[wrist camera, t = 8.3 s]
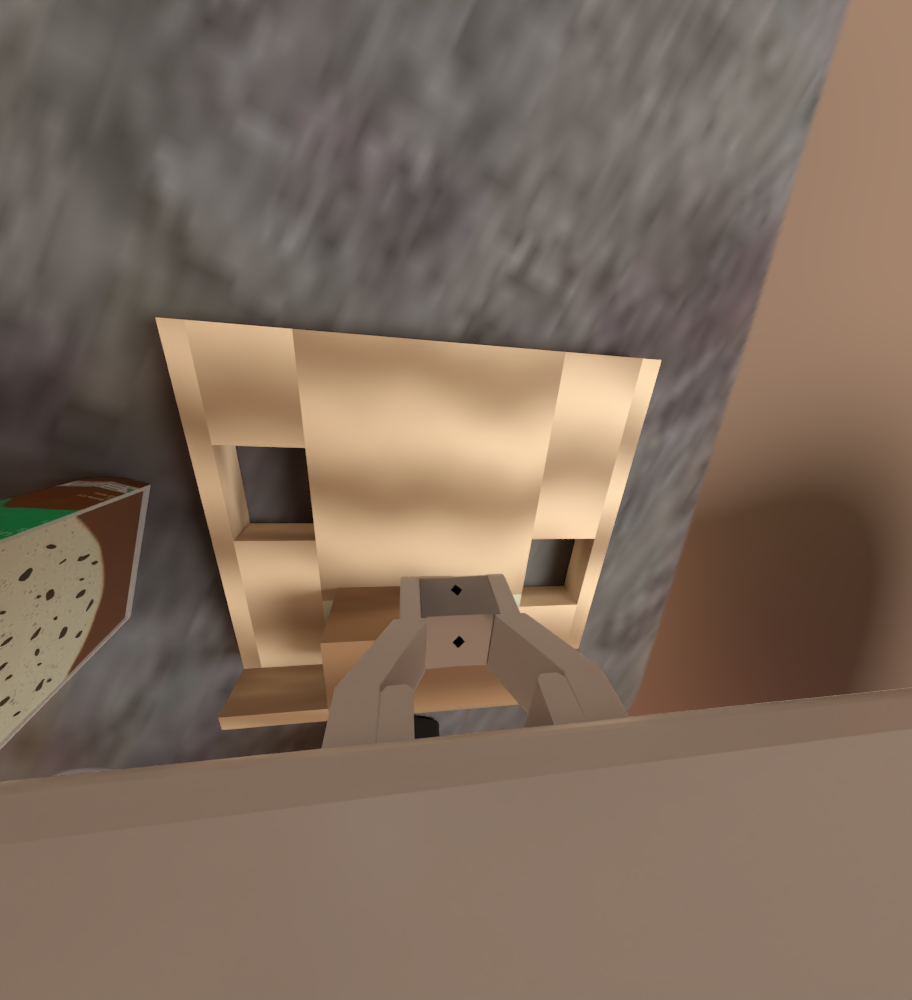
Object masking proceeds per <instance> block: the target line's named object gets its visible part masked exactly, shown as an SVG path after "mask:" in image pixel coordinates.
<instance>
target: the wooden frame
mask: <svg viewBox="0 0 912 1000" xmlns="http://www.w3.org/2000/svg"><path fill="white" fill-rule="evenodd" d="M155 319H156V323H157V327H158V331H159V335H160V338H161V342H162V346H163V350H164V354H165V358H166V362H167V366H168V370H169V374H170V378H171V382H172V386H173V390H174V394H175V398H176V402H177V406H178V410H179V414H180V418H181V422H182V425H183V429H184V433H185V437H186V441H187V445H188V449H189V453H190V457H191V461H192V465H193V469H194V473H195V477H196V481H197V485H198V489H199V493H200V497H201V501H202V505H203V508H204V512H205V516H206V520H207V524H208V528H209V532H210V536H211V540H212V544H213V548H214V552H215V556H216V560H217V564H218V568H219V572H220V576H221V580H222V584H223V588H224V591H225V595H226V599H227V603H228V607H229V611H230V615H231V619H232V623H233V627H234V631H235V635H236V639H237V643H238V647H239V651H240V655H241V659H242V663H243V667H244V670H243V672H242V674H241V676H240V678H239V679H238V681H237V683H236V685H235V687H234V689H233V691H232V693H231V695H230V697H229V698H228V700H227V702H226V704H225V706H224V708H223V710H222V712H221V714H220V715H219V717H218V719H219V722H220V725H221V728H222V730H228V729H239V728H251V727H263V726H274V725H286V724H297V723H309V722H321V721H328V716H329V712H328V704H327V696H326V687H325V679H324V671H323V662H322V654H321V646H320V642H321V639H322V636H323V633H324V629H325V626H326V623H327V620H328V616H329V613H330V610H331V607H332V604H333V600H334V597H335V594H336V591H337V588H347V587H385V586H400V580H401V577H410V576H418V577H419V576H470V575H486V574H503V575H504V576H505V578H506V580H507V583H508V585H509V588H510V590H511V592H512V595H513V597H514V599H515V602H516V604H517V606H518V609H519V611H520V613H526V614H527V615H529V616H530V617H532V618H533V619H534V620H536V621H537V622H538V623H540V624H541V625H543V626H544V627H545V628H547V629H548V630H549V631H551V632H552V633H553V634H555V635H556V636H558V637H559V638H560V639H562V640H563V641H564V642H566V643H567V644H569V645H570V646H571V647H573V648H574V649H575V650H577V651H578V652H580V651H579V649H578V648H579V644H580V641H581V637H582V634H583V630H584V627H585V624H586V620H587V617H588V613H589V610H590V606H591V603H592V599H593V596H594V592H595V589H596V585H597V582H598V578H599V575H600V572H601V568H602V565H603V561H604V558H605V554H606V551H607V547H608V544H609V540H610V537H611V533H612V530H613V527H614V523H615V520H616V516H617V513H618V509H619V506H620V502H621V499H622V495H623V492H624V488H625V485H626V482H627V478H628V475H629V471H630V468H631V464H632V461H633V457H634V454H635V450H636V447H637V443H638V440H639V437H640V433H641V430H642V426H643V423H644V419H645V416H646V412H647V409H648V405H649V402H650V398H651V395H652V391H653V388H654V385H655V381H656V378H657V374H658V371H659V367H660V364H661V360H654V359H642V358H630V357H619V356H607V355H595V354H583V353H571V352H560V351H548V350H536V349H524V348H512V347H501V346H489V345H477V344H465V343H453V342H442V341H430V340H418V339H406V338H394V337H383V336H371V335H359V334H347V333H335V332H324V331H312V330H300V329H288V328H276V327H265V326H253V325H241V324H229V323H217V322H206V321H194V320H182V319H170V318H158V317H155ZM235 446H259V447H289V448H305V449H306V458H307V467H308V476H309V485H310V494H311V503H312V512H313V521H314V523H250V518H249V513H248V508H247V503H246V498H245V493H244V488H243V482H242V477H241V472H240V467H239V462H238V457H237V452H236V447H235ZM532 539H575V542H574V546H573V551H572V555H571V559H570V563H569V567H568V571H567V575H566V579H565V584H564V586H530V587H523V584H524V578H525V573H526V567H527V562H528V556H529V551H530V545H531V540H532ZM580 653H581V652H580ZM507 705H518V702H517V701H516V700H515V699H514V700H511V701H499V702H487V703H474V704H462V705H450V706H438V707H426V708H414V713H425V712H437V711H449V710H460V709H472V708H483V707H495V706H507Z"/></svg>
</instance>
